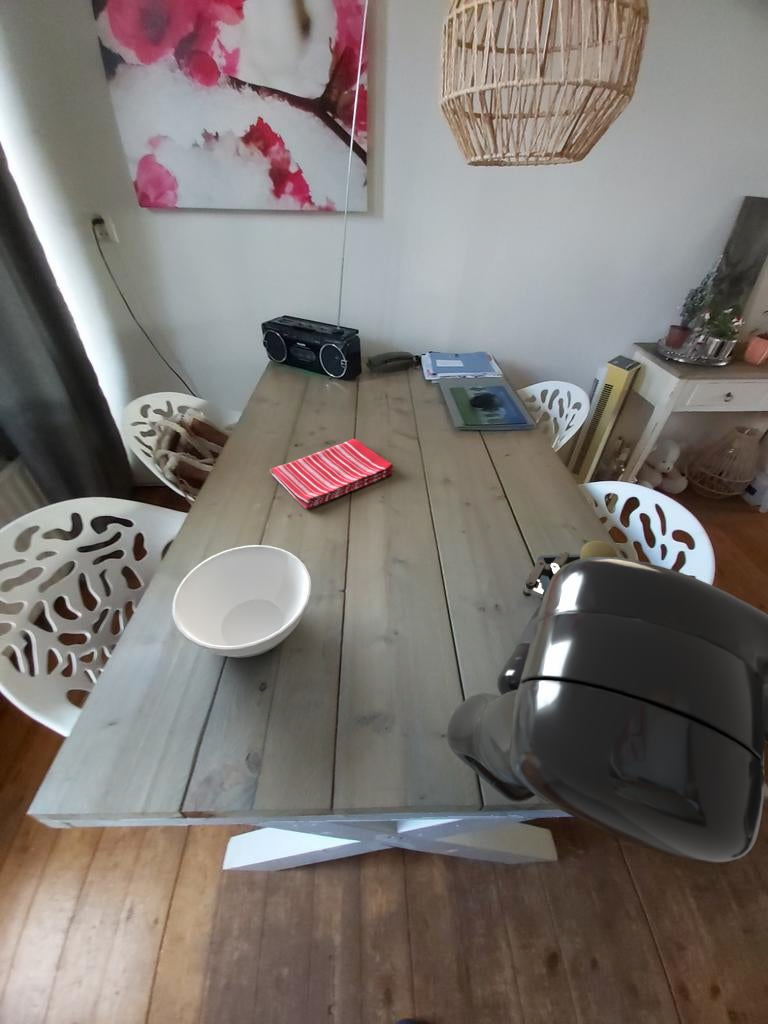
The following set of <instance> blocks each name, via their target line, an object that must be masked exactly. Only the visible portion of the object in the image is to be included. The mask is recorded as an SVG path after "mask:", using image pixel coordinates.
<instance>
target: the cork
mask: <svg viewBox="0 0 768 1024" xmlns="http://www.w3.org/2000/svg"><path fill="white" fill-rule="evenodd" d="M579 555H580V558H581V559H582V558H591V557H616V558H618V553H617V551H616V549H615V548H614V547H613V546H612V545H611V544H609V543H607V542H605V541H602V540H591V541H589V542H586V543H585V544H584V545H583V546H582V547H581V550H580V553H579Z"/></svg>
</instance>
